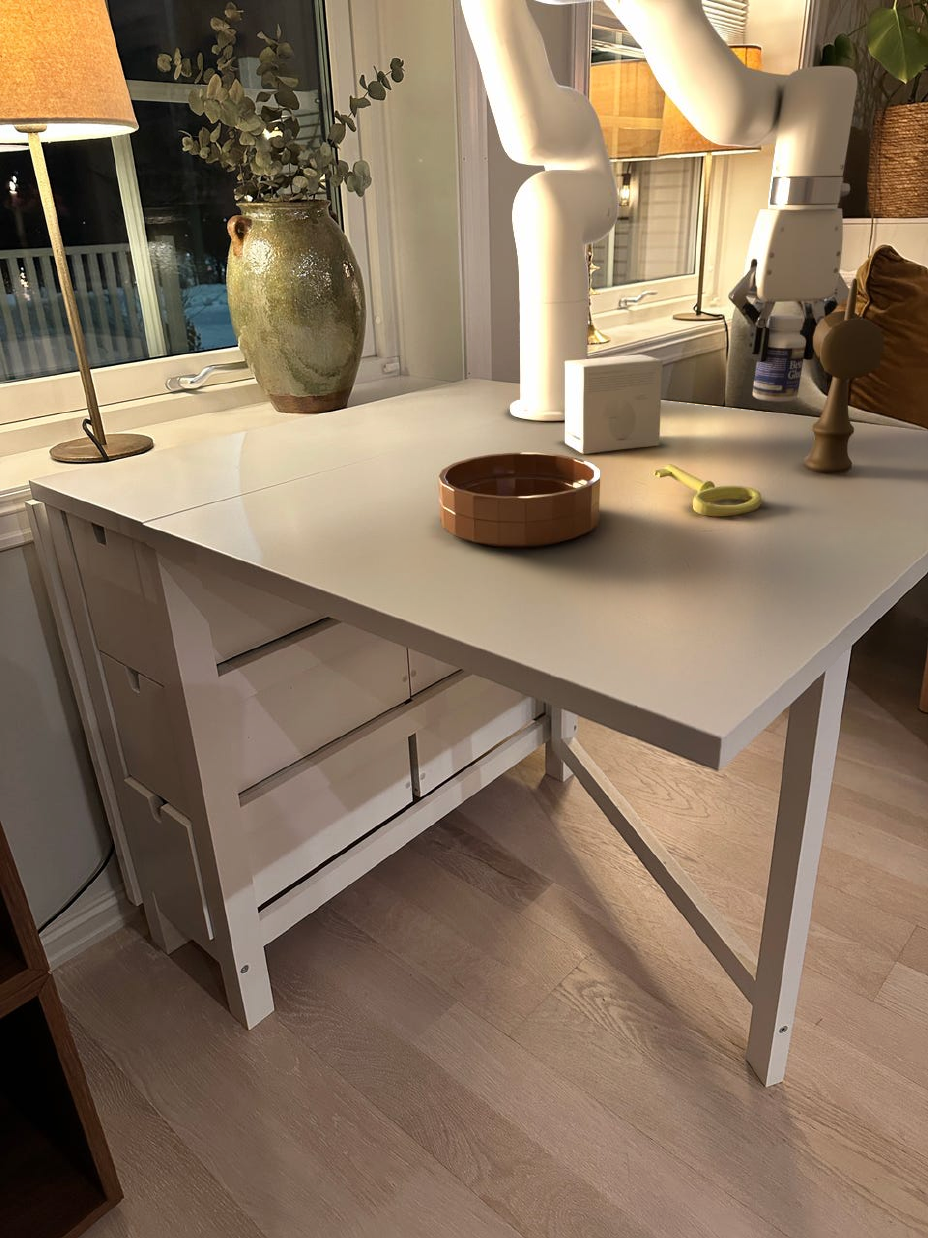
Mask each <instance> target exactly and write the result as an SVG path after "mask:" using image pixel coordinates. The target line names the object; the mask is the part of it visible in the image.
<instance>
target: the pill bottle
mask: <svg viewBox="0 0 928 1238" xmlns="http://www.w3.org/2000/svg"><path fill="white" fill-rule="evenodd" d="M803 322H804V315H798V314H791V313H790V314H788V313H783V314H782V313H776V314H770V317H769V319H768V321H767V327H768V328H769V329H770V334H769V341H768V348H767V356H766V360H765V361H764V362H758V361H756V366H755V373H754V378H753V385H752V386H753V387H752V397H754V398H755V399H757V400H760V401H766V402H776V403H777V402H778V403H780V402H781V403H783V402H792V401H794V400H796V399H797V398H798V394H799V391H800V390H799V389H800V383H801V377H802V370H803V364H804V360H805V359H804V353H805V346H806V339H805V337H804V336H802V335H800V330H801V329H802V327H803Z"/></svg>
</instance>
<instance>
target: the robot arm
mask: <svg viewBox="0 0 928 1238" xmlns="http://www.w3.org/2000/svg"><path fill="white" fill-rule="evenodd" d="M534 1H535V2H540V3H543V4H546V5H547V4H548V5H570V4H571V5H572V4H579V3H587V2H588V3H589V2H597V1H599V0H534ZM602 1H603V2H604V3H605V5H606V6H607V7H608V8H609V9H610V11H612V13H613V14H614V16H616V18H617V19H618V20H619V22H620V23H621V24H622V26H624V28H625V29H626V30H627V31H628V32H629V34H630V35H631V36H632V37H633V39H634V40H635V42H637V44H638V45H639V46H640V47H641V49H642V51H643V53H644V56H645V59H646V61H647V63H648V65H649V67H650V69H651V71H652V73H653V75H654V77H655V79H656V80H657V82H658V83H659V85H660V87H661V89H663V91H664V92H665V94H666V95H667V96H668V98H669V99H670V100H671V102H672V103H673V104H674V105H675V106H676V107H677V108H678V110H679V111H680V112H681V113H682V114H683V116H684V117H685V118H686V119H687V120H688V122H689V123H690V124H691V125H692V127H694V129H695V130H696V131H697V132H698V133H699V134H701V136H703V137H704V138H705V139H706V140H708V141H710V142H712V143H714V144H716V145H720V146H736V147H739V148H740V147H741V148H742V147H744V148H756V147H763V146H768V145H773V144H775V151H774V156H773V157H774V158H773V164H772V173H771V182H770V188H769V189H770V190H769V197H768V206H767V208H760V210H759V213H758V216H757V219H756V222H755V224H754V228H753V232H752V235H751V238H750V243H749V248H748V253H747V258H746V261H745V262H746V263H745V268H744V273H743V277H742V278H741V279H740V280H739V281H738V283H737V284H736V285H735V286H734V287H733V288H732V289H731V290H730V292H728V296H727V298H728V300H729V301H731V303H732V304H733V305H734V306H735V307H736V308H737V309H738V311H739V313H741V315H742V316H743V318H744V319H745V320H746V323H747V324H748V325H750V327H749V333H748V342H747V353H748V358H749V359H750V360H752V361H755V362H757V361H758V362H764V361H765V360H766V356H767V348H768V341H769V334H770V329H769V328H768V326H767V325H768V321H769V317H770V315H772V312H773V310H774V307H775V305H776V303H782V302H783V303H784V302H786V303H787V302H801V304H802V305H801V306H802V311H803V317H804V321H803V327H802V329H801V330H800V335H802V336H804V337H805V339H806V346H805V353H804V359H803V360H806V361H812V360H813V358H814V354H815V350H814V348H813V335H814V332H815V329H816V326H817V325H818V324H819V322H820V321H821V320H822V318H824V317H826V316H827V315H829V314H831V313H833V312H834V311H835V310H836V309H837V307H838V306H840V305H841V304H842V303H843V302H844V301H845V300H847V299H848V294H849V289H850V287H849V286H848V285H847V283H846V281H845V280H844V278H843V276H842V275H841V273H840V271H841V264H842V263H841V262H842V252H843V239H844V238H843V237H844V236H843V235H844V226H843V225H844V224H843V223H844V220H843V219H844V217H843V208H839V203H840V201H841V198H842V197H847V196H849V195H850V191H851V185H850V184H849V183H844V177H843V176H844V175H843V174H844V170H845V164H846V158H847V151H848V146H849V139H850V133H851V126H852V120H853V116H854V108H855V103H856V95H857V89H858V77H857V73H856V71H855V70H854V69H853V68H850V67H849V66H848V67H847V66H841V65H823V66H822V65H819V66H809V67H804V68H798V69H796V70H794V71H792V72H791V73H790V74H781V73H780V74H779V73H771V72H766V71H763V70H760V69H756V68H752V67H748V66H747V65H746V63H744V62H743V61H742V60H741V59H740V58H739V57H738V55H737V54H736V53H735V52H734V51H733V50H732V48H731V47H730V46H729V45H728V43H727V42H726V41H725V39H724V38H723V37H722V36H721V35H720V34H719V32H718V31H717V30H716V28H715V27H714V26H713V24H712V23H711V21H710V20H709V18H708V16H707V14H706V12H705V10H704V8H703V7H704V6H703V0H602ZM460 4H461V10H462V13H463V16H464V20H465V23H466V24H465V25H466V27H467V30H468V33H469V36H470V39H471V42H472V44H473V48H474V51H475V53H476V57H477V60H478V63H479V67H480V70H481V74H482V79H483V82H484V86H485V90H486V94H487V97H488V100H489V104H490V107H491V111H492V114H493V118H494V121H495V126H496V128H497V132H498V135H499V139H500V142H501V146H502V147H503V149H504V151H505V153H506V154H507V156H508V157H509V158H510V159H511V160H512V161H514V162H516V163H518V164H522V165H528V166H543V167H544V171H540V172H538V173H535V174H533V175H532V176H530V177H529V178H528V179H527V180H526V181H524V182H523V184H521V186H520V188H519V189H518V192H516V195H515V198H514V202H513V205H512V228H513V234H514V239H515V245H516V251H517V260H518V275H519V276H518V277H519V316H520V317H519V333H520V334H519V337H520V339H519V341H520V342H519V347H520V350H519V351H520V352H519V353H520V356H519V357H520V360H519V361H520V362H519V363H520V399H517V400H515V401H513V402H511V404H510V405H509V410H510V414H511V415H512V416H514V417H516V418H519V419H523V420H529V421H537V422H539V421H540V422H562V421H563V422H565V361H571V360H583V359H588V354H589V353H588V348H589V347H588V345H589V308H590V307H589V306H590V279H589V278H590V276H589V266H588V262H587V257H586V253H585V246H587V245H592V244H595V243H597V242H601V241H602V240H603V239H604V238H605V237H607V236H608V235H609V234H610V233H611V231H612V230H613V228H614V227H615V225H616V222H617V220H618V216H619V209H620V202H619V191H618V186H617V182H616V179H615V174H614V171H613V167H612V163H611V160H610V156H609V151H608V148H607V145H606V140H605V136H604V133H603V129H602V125H601V122H600V119H599V117H598V114H597V111H596V110H595V108H594V106H593V103H591V101H590V100H589V99H588V97H587V96H586V95H585V94H584V93H583V92H581V91H579V90H578V89H575V88H573V87H570V86H565V85H560V84H558V83H557V80H556V79H555V77H554V74H553V71H552V68H551V65H550V62H549V60H548V59H549V58H548V55H547V51H546V46H545V42H544V38H543V36H542V33H541V31H540V29H539V27H538V25H537V23H536V21H535V19H534V18H533V15H532V14H531V12H530V9H529V7H528V4H527V1H526V0H460ZM748 298H751V299H754V301H753V303H751V302H750V301H749V299H748Z"/></svg>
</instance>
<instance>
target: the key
mask: <svg viewBox="0 0 928 1238" xmlns="http://www.w3.org/2000/svg"><path fill="white" fill-rule="evenodd" d="M653 475H654V476H657V477H658V478H659V479H660V478H665V477H666V478H667V477H670V478H671V479H672V480H673V479H674V480H675V481H676V482H679V483H681V484H683V485H684V486H687V487H688V488H690V489H691V490H693V491H694V492H697V493H696V494H695V495H694V498H693V500H692V506H693V507H692V508H693V510H694V512H696V513H697V514H700V515H702V516H706V517H729V516H736V515H741V514H746V513H750V512H754V511H755V510H757V509H758V508H759V507H760V506H761V504H762V494H761V493H760V491H758V490H757V489H754V488H751V487H748V486H744V485H743V486H742V485H723V486H722V485H721V486H715V483H714V482H713V481H711V480H705V481H703V480H702V479H699V478H698V477H696V476H694V475H692V474H690V473H688V472H687V471H684V470H683V469H681V468H679V467H678V466H675V465H674V464H673V463H669V464H667V465H665V467H664V468H662V469H654V470H653ZM731 499H732V500H743V501H745V502H742V503H738V504H733V505H722V504H721V505H720V504H713V503H711V502H715V501H721V500H731Z"/></svg>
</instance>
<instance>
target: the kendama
mask: <svg viewBox="0 0 928 1238" xmlns="http://www.w3.org/2000/svg"><path fill="white" fill-rule="evenodd" d="M858 284H859V283H858V279H857V278H853V279H852V280H851V281H850V286H849V294H848V297H847V299H846V300H847V301H846V306H845V310H839V311H835V312H834V311H833V312H832V313H831V314H829V315H827V316H826V317H824V318H822V320H821V321H820V322H819V324H818V325H817V326H816V329H815V332H814V335H813V348H814V350H815V351H814V353H815V354H816V356H817V358H818V359H820V361H819V362H820V363H821V366H822V368H823V370H824V372H826V373H827V374H828V375H830V376H832V378H831V383H830V387H829V390H828V394H827V397H826V401H825V404H824V406H823V409H822V412H821V414H820V416H819V418H818V420H817V421H816V422H815V423H813V424H812V426H811V427H812V428H811V431H812V432H813V434H814V441H813V446H812V449H811V451H810V453H809V454H808V455H807V456H806V457H805V458H804V461H803V465H804V467H805V468H806V469H808V470H810V471H813V472H816V473H820V474H841V473H845V472H848V471H850V470H851V469H852V468H853V461H852V460H851V458H850V456H849V452H848V449H849V440H850V437H851V436H852V435H853V434H854V433H855V427H854V425H852V423H851V421H850V415H849V380H856V379H861V378H863V377H865V376H867V375H869V374H871V373H872V372H873V371H874V370H875V369H876V367H877V366H879V364H880V362H881V360H882V357H883V354H884V351H885V337H884V335H883V333H882V330H881V328H880V326H879V325H877V324H875V323H874V322H873V321H871V320H869V319H864V317H862V316H861V315H859V314H857V313H856V305H857V297H858Z"/></svg>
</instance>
